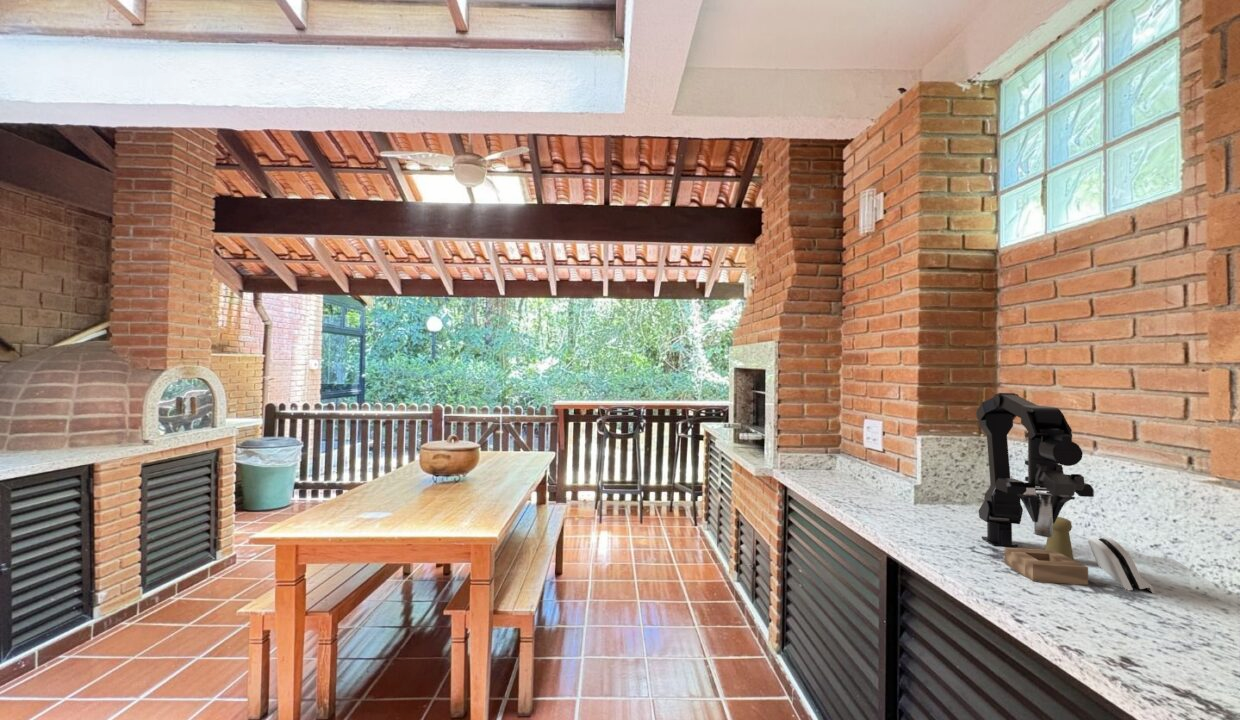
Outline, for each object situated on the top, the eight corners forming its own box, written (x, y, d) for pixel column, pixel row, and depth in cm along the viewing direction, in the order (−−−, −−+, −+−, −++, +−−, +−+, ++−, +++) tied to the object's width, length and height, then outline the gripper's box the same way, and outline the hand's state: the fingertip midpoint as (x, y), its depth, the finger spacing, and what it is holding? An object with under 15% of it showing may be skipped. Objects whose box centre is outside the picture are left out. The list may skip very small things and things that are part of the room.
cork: (1047, 561, 135) (1047, 518, 135) (1041, 554, 140) (1041, 513, 140) (1077, 565, 132) (1077, 522, 132) (1070, 558, 137) (1070, 516, 137)
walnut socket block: (1004, 563, 133) (1004, 547, 133) (1054, 566, 131) (1054, 550, 131) (1033, 581, 122) (1032, 564, 122) (1088, 584, 120) (1087, 567, 120)
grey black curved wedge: (1156, 594, 115) (1135, 549, 117) (1129, 597, 117) (1109, 553, 119) (1123, 568, 130) (1105, 529, 132) (1100, 571, 132) (1083, 532, 134)
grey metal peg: (1031, 532, 129) (1030, 491, 129) (1046, 533, 128) (1046, 492, 128) (1040, 536, 125) (1040, 495, 125) (1056, 537, 125) (1056, 495, 125)
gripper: (1021, 463, 121) (1021, 530, 120) (1111, 465, 118) (1112, 534, 117) (994, 455, 132) (994, 516, 131) (1076, 457, 129) (1077, 520, 128)
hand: (1043, 522), depth 127 cm, fingers closed on grey metal peg, 3 cm apart
